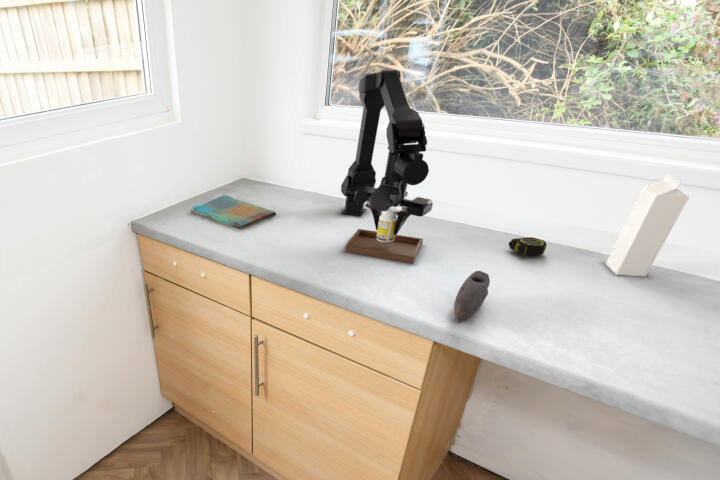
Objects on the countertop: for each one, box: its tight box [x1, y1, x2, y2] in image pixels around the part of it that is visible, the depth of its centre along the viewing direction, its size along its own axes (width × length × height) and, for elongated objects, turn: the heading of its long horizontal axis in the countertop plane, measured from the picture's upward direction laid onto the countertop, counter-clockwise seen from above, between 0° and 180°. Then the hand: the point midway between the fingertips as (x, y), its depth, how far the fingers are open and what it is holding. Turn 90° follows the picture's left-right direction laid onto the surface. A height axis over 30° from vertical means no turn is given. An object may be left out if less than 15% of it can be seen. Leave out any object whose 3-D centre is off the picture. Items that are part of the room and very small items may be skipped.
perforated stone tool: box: [453, 270, 491, 323], centre depth 99 cm, size 15×5×7 cm, turn 141°
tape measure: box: [508, 236, 547, 258], centre depth 121 cm, size 7×7×4 cm
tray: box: [344, 228, 424, 265], centre depth 128 cm, size 13×18×2 cm
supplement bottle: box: [376, 206, 399, 242], centre depth 124 cm, size 5×5×8 cm
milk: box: [605, 173, 690, 277], centre depth 107 cm, size 6×6×22 cm
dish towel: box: [189, 194, 277, 230], centre depth 154 cm, size 17×23×2 cm
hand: (386, 232), depth 126 cm, fingers closed on supplement bottle, 5 cm apart
